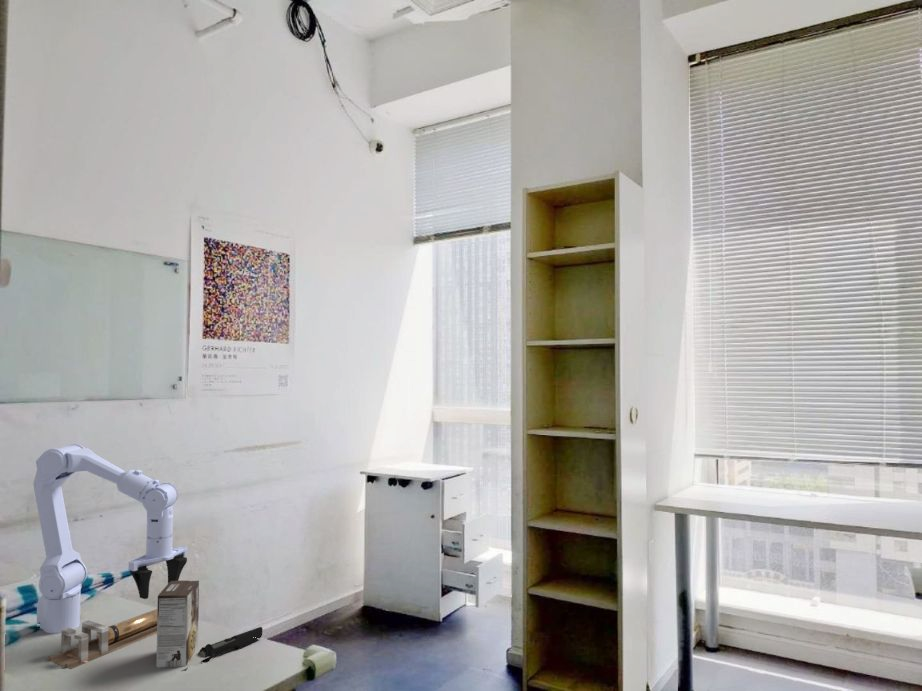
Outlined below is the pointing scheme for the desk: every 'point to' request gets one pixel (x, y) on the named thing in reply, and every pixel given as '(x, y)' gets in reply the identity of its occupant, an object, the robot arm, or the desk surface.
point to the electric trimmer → (230, 644)
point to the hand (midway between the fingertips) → (158, 592)
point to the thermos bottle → (131, 626)
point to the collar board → (91, 644)
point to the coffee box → (177, 623)
